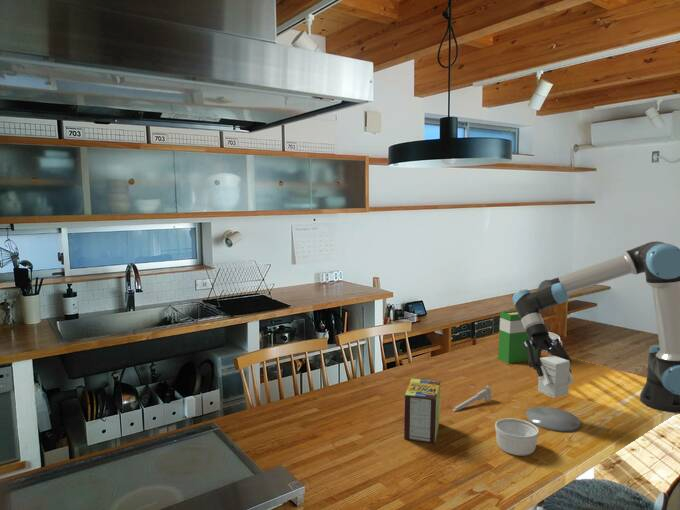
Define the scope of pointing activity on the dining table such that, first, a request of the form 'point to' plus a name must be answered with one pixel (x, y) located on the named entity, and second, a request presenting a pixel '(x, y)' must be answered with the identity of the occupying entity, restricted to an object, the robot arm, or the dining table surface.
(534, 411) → the disc
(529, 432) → the ramekin
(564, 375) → the supplement box
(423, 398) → the protein box
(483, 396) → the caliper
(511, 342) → the green white box
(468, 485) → the dining table surface
